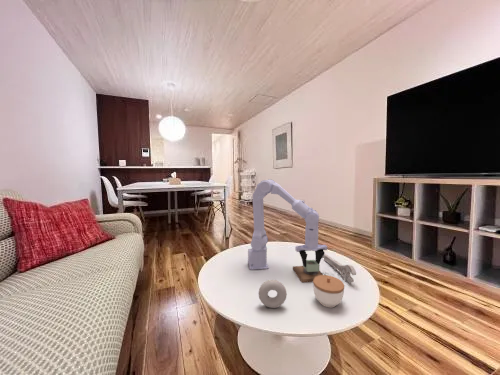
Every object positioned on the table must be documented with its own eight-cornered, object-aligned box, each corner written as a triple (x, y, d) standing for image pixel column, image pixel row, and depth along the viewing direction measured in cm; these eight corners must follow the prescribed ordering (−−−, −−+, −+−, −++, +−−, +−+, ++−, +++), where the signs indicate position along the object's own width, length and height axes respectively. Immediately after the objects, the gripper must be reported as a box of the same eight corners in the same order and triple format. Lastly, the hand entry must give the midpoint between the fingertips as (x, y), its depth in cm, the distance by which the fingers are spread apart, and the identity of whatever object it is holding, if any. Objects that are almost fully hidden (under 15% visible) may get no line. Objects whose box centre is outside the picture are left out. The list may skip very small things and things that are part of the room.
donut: (285, 304, 77) (286, 278, 76) (287, 310, 74) (287, 283, 73) (258, 303, 77) (258, 277, 76) (258, 309, 74) (258, 282, 73)
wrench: (324, 263, 117) (356, 287, 87) (321, 263, 117) (352, 287, 87) (324, 248, 117) (356, 267, 87) (321, 248, 117) (352, 268, 87)
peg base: (301, 282, 91) (302, 270, 91) (292, 269, 103) (293, 258, 103) (325, 280, 93) (326, 268, 92) (314, 268, 105) (314, 257, 104)
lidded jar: (307, 302, 78) (308, 278, 77) (320, 290, 86) (320, 268, 85) (336, 316, 71) (338, 289, 70) (347, 301, 79) (348, 277, 78)
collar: (307, 272, 95) (307, 265, 94) (302, 266, 100) (302, 260, 100) (319, 271, 95) (319, 264, 95) (313, 265, 101) (314, 259, 101)
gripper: (299, 240, 92) (298, 270, 93) (331, 239, 94) (329, 268, 95) (294, 235, 99) (293, 263, 100) (323, 234, 100) (322, 261, 102)
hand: (310, 265), depth 98 cm, fingers closed on collar, 6 cm apart
